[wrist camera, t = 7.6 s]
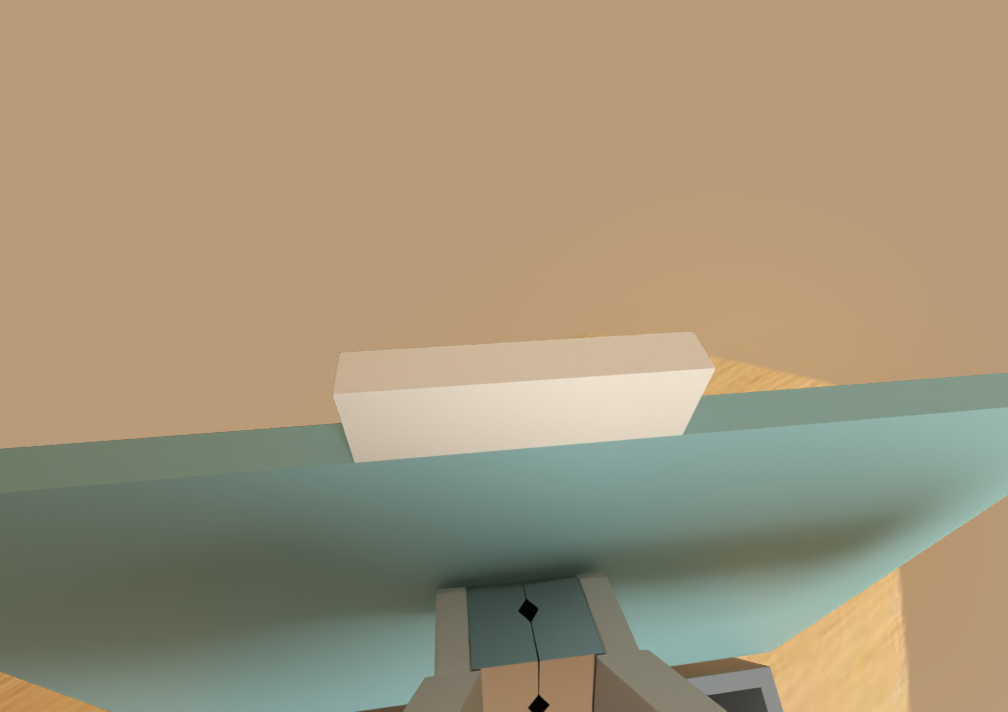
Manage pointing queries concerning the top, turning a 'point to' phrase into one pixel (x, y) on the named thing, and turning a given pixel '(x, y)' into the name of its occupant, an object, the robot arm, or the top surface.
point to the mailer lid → (474, 519)
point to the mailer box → (718, 685)
